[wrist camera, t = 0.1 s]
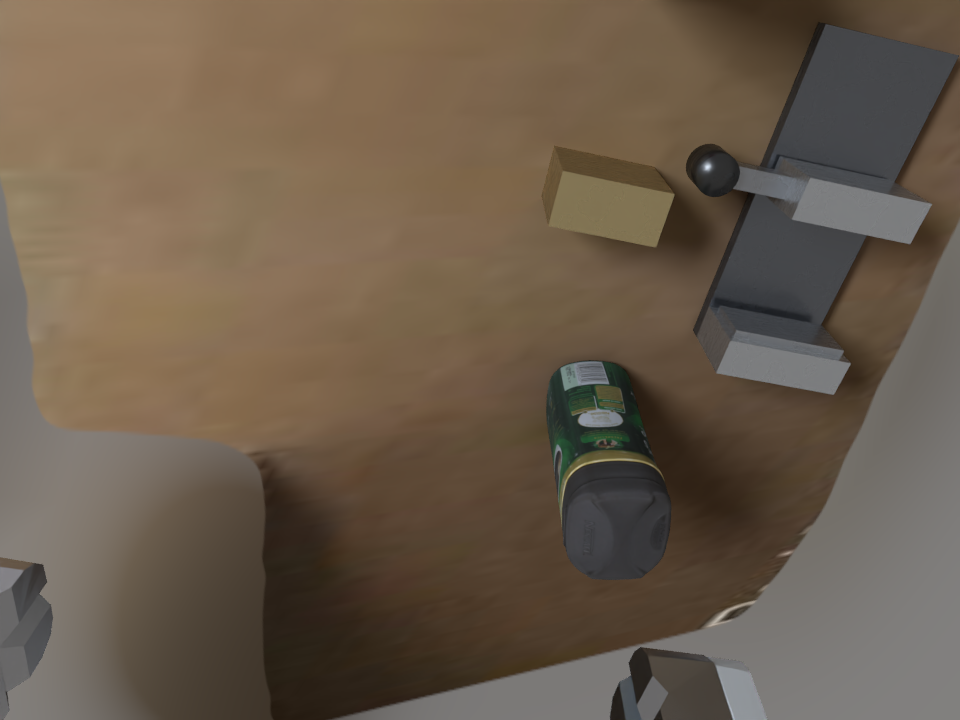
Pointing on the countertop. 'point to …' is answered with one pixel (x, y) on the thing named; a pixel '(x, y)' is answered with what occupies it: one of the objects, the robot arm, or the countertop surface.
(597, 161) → the brass block
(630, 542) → the coffee jar
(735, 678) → the robot arm
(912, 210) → the lever
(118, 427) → the countertop surface
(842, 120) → the vise bed
